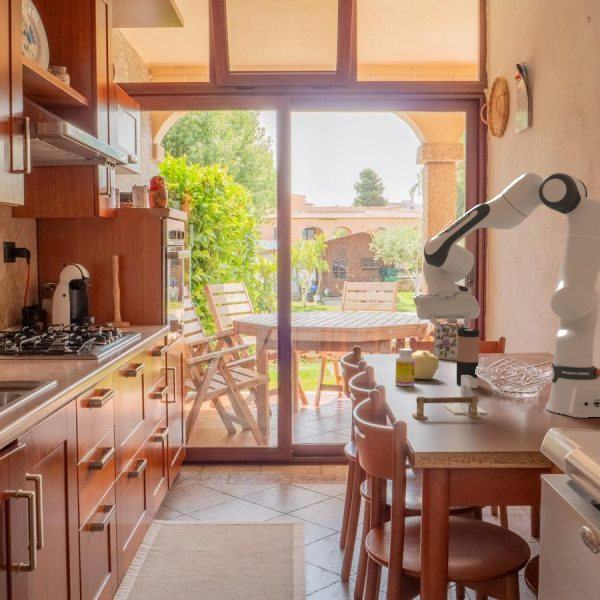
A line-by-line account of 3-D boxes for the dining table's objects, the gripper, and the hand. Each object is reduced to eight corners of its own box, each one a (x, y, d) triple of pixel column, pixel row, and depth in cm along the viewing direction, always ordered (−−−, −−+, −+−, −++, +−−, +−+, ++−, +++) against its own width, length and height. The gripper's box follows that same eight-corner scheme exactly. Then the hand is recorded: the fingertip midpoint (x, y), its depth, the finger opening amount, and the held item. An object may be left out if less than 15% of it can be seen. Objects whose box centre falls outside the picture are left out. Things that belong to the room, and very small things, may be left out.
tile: (475, 406, 226) (475, 404, 226) (487, 414, 216) (487, 412, 216) (443, 406, 224) (443, 405, 224) (454, 414, 215) (454, 412, 215)
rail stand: (477, 415, 214) (477, 395, 214) (481, 418, 211) (482, 397, 210) (412, 416, 212) (412, 395, 211) (415, 419, 208) (416, 398, 208)
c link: (467, 407, 221) (468, 374, 221) (476, 413, 214) (477, 379, 213) (460, 407, 221) (461, 375, 220) (468, 413, 214) (469, 379, 213)
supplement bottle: (413, 387, 254) (414, 351, 253) (394, 386, 256) (395, 350, 255) (414, 384, 261) (415, 348, 260) (395, 383, 262) (396, 347, 261)
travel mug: (462, 387, 256) (464, 330, 255) (452, 383, 264) (453, 328, 262) (481, 386, 258) (483, 330, 257) (471, 382, 266) (472, 327, 264)
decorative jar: (467, 358, 323) (469, 317, 322) (458, 361, 313) (459, 319, 312) (442, 355, 330) (443, 315, 328) (432, 358, 320) (433, 317, 318)
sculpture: (443, 380, 268) (444, 351, 267) (414, 382, 264) (415, 353, 263) (426, 375, 279) (427, 347, 278) (399, 377, 274) (399, 348, 273)
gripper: (414, 288, 235) (423, 321, 226) (475, 287, 238) (486, 320, 229) (410, 301, 240) (418, 334, 231) (470, 300, 243) (481, 332, 234)
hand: (453, 327), depth 230 cm, fingers open, 8 cm apart
